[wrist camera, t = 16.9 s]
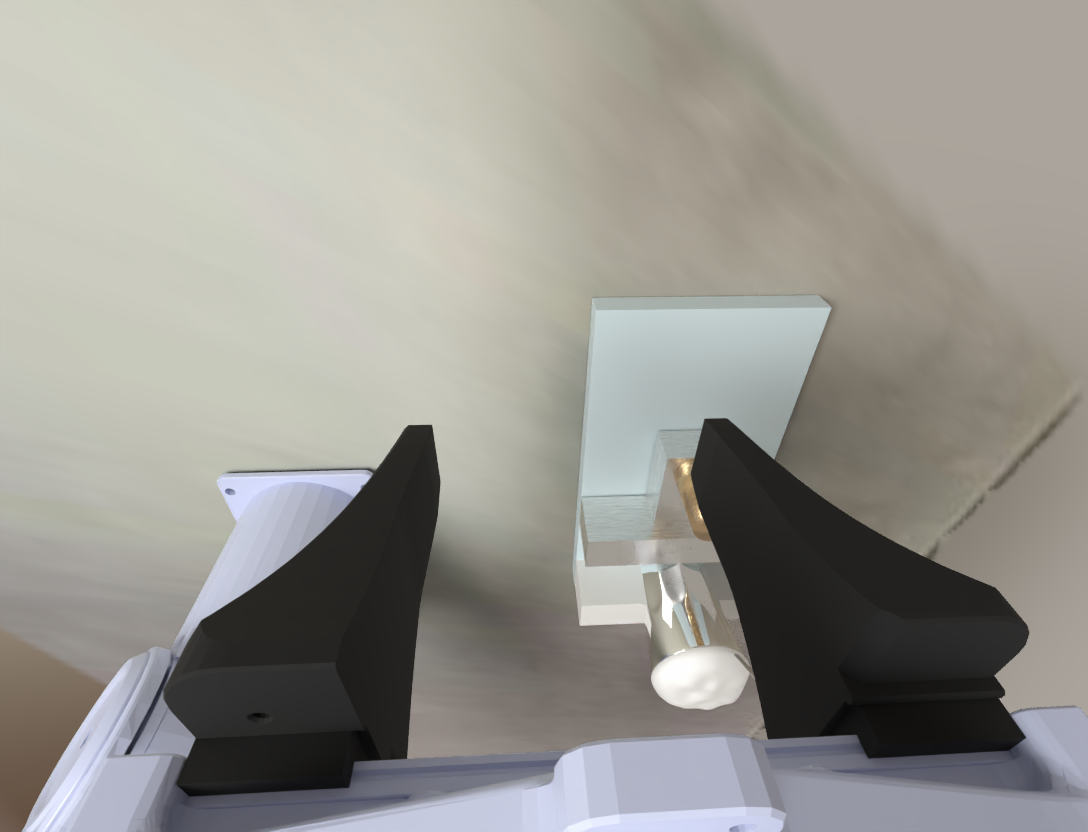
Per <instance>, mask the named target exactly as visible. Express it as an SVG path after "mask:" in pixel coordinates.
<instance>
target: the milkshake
mask: <svg viewBox="0 0 1088 832" xmlns="http://www.w3.org/2000/svg"><path fill="white" fill-rule="evenodd" d="M637 571H638V578H639V585H640V592H641V599H642V606H643V613H644V620H645V628H646V637H647V645H648V654H649V663H650V672H651V681H652V684H653V687H654V689H655V690H656V692H657V693H658V694H659V696H660V697H661V698H663V699H664V700H665V701H666V702H668V703H669V704H672V705H674V706H678V707H681V708H685V709H690V708H698V709H704V710H711V709H714V708H716V707H718V706H721V705H726V704H731V703H733V702H734V701H736V700H737V699H738V697H739V696H740V695H741V693H742V691H743V689H744V686H745V684H746V681H747V679H748V677H749V674H751V676H752V677H753V678H754V679H755V677H754V672H753V670H752V669H751V668H750V666H749V663H748V661H747V659H746V657H745V655H744V653H743V651H742V649H741V646H740V644H739V642H738V640H737V638H736V636H735V634H734V632H733V630H732V628H731V626H730V623H729V621H728V619H727V617H726V615H725V613H724V611H723V609H722V607H721V604H720V602H719V600H718V598H717V595H716V593H715V591H714V588H713V586H712V584H711V582H710V579H709V577H708V575H707V573H706V570H705V568H704V566H703V563H679V564H653V565H637Z"/></svg>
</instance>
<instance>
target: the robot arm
mask: <svg viewBox="0 0 1088 832" xmlns="http://www.w3.org/2000/svg"><path fill="white" fill-rule="evenodd" d="M690 475H691V479H692V483H693V488H694V492H695V496H696V500H697V503H698V507H699V510H700V513H701V515H702V518H703V520H704V523H705V525H706V528H707V530H708V533H709V535H710V538H711V540H712V543H713V545H714V548H715V550H716V552H717V555H718V557H719V560H720V562H721V565H722V567H723V570H724V572H725V575H726V577H727V580H728V583H729V585H730V588H731V591H732V594H733V597H734V601H735V604H736V608H737V611H738V615H739V618H740V622H741V625H742V629H743V633H744V637H745V641H746V644H747V648H748V652H749V656H750V660H751V664H752V668H753V672H754V677H755V681H756V685H757V690H758V694H759V699H760V703H761V708H762V713H763V718H764V723H765V728H766V733H767V737H768V740H754V739H752V738H750V737H748V736H746V735H742V734H727V733H717V734H698V735H679V736H660V737H641V738H622V739H607V740H600V741H594V742H588V743H583V744H581V745H579V746H577V747H574V748H572V749H570V750H564V751H546V752H527V753H508V754H490V755H471V756H452V757H434V758H415V759H407V751H408V735H409V720H410V707H411V694H412V681H413V670H414V659H415V648H416V637H417V628H418V618H419V608H420V602H421V595H422V589H423V585H424V580H425V575H426V570H427V565H428V561H429V556H430V551H431V546H432V541H433V537H434V532H435V527H436V522H437V517H438V506H439V494H440V475H439V469H438V462H437V455H436V449H435V442H434V435H433V428H432V425H408V426H407V427H406V428H405V429H404V431H403V432H402V434H401V435H400V437H399V438H398V440H397V442H396V443H395V445H394V446H393V447H392V449H391V450H390V452H389V453H388V455H387V456H386V458H385V459H384V460H383V462H382V463H381V464H380V466H379V467H378V468H377V470H376V471H375V472H374V474H373V473H372V472H370V471H368V470H337V471H299V472H262V473H226V474H222V475H221V476H220V477H219V479H218V481H217V485H218V487H219V489H220V491H221V493H222V494H223V496H224V498H225V500H226V502H227V504H228V506H229V508H230V510H231V512H232V514H233V516H234V518H235V520H236V522H237V524H236V526H235V528H234V529H233V531H232V533H231V535H230V537H229V539H228V541H227V543H226V545H225V547H224V549H223V550H222V552H221V554H220V556H219V558H218V560H217V562H216V564H215V566H214V568H213V569H212V571H211V573H210V575H209V577H208V579H207V581H206V583H205V585H204V587H203V588H202V590H201V592H200V594H199V596H198V598H197V600H196V602H195V604H194V606H193V608H192V609H191V611H190V613H189V615H188V617H187V619H186V621H185V623H184V625H183V627H182V628H181V630H180V632H179V634H178V636H177V638H176V640H175V642H174V644H173V646H172V647H171V648H170V649H169V650H167V649H164V648H161V647H153V648H151V649H149V650H148V651H147V652H146V653H142V654H140V655H137V656H135V657H133V658H131V659H129V660H128V661H127V662H126V663H125V664H124V665H123V667H122V668H121V669H120V670H119V671H118V673H117V674H116V675H115V677H114V678H113V679H112V681H111V682H110V683H109V685H108V686H107V688H106V689H105V690H104V692H103V693H102V695H101V696H100V698H99V699H98V701H97V702H96V703H95V705H94V706H93V708H92V710H91V711H90V713H89V714H88V716H87V717H86V719H85V720H84V722H83V723H82V725H81V726H80V728H79V730H78V731H77V733H76V734H75V736H74V737H73V739H72V741H71V742H70V744H69V746H68V747H67V749H66V750H65V752H64V754H63V755H62V757H61V759H60V761H59V762H58V764H57V766H56V767H55V769H54V771H53V772H52V774H51V776H50V778H49V780H48V781H47V783H46V785H45V787H44V788H43V790H42V792H41V794H40V796H39V798H38V800H37V802H36V804H35V805H34V807H33V810H32V812H31V814H30V816H29V818H28V821H27V824H26V826H25V827H24V829H23V831H22V832H1088V716H1087V715H1086V714H1085V713H1084V711H1083V710H1082V709H1081V708H1080V707H1077V706H1057V707H1037V708H1026V709H1020V710H1017V711H1014V712H1012V713H1010V714H1009V712H1008V711H1007V710H1006V708H1005V707H1004V705H1003V704H1002V703H1001V701H1000V700H999V698H1002V697H1003V696H1004V695H1005V690H1004V689H1003V687H1002V686H1001V684H1000V683H999V682H998V680H997V679H996V678H995V676H994V675H995V674H996V673H997V672H999V671H1000V670H1001V669H1002V668H1003V667H1004V666H1005V665H1006V664H1007V663H1008V662H1009V661H1010V660H1012V659H1013V658H1014V657H1015V656H1016V655H1017V654H1018V653H1019V652H1020V651H1021V649H1022V648H1023V647H1024V646H1025V645H1026V642H1027V639H1028V635H1029V630H1028V626H1027V625H1026V623H1025V622H1024V621H1023V620H1022V618H1021V617H1020V616H1019V615H1018V614H1017V613H1016V611H1015V610H1014V609H1013V608H1012V607H1011V605H1010V604H1009V603H1008V602H1007V601H1006V599H1005V598H1004V597H1003V596H1002V595H1001V593H1000V592H999V591H998V590H997V589H996V588H994V587H992V586H990V585H987V584H985V583H983V582H980V581H978V580H975V579H973V578H970V577H968V576H966V575H963V574H961V573H959V572H956V571H954V570H951V569H949V568H947V567H944V566H942V565H940V564H938V563H936V562H934V561H932V560H930V559H928V558H925V557H923V556H921V555H919V554H917V553H915V552H913V551H911V550H909V549H907V548H905V547H903V546H901V545H899V544H897V543H895V542H894V541H892V540H890V539H888V538H886V537H885V536H883V535H881V534H879V533H878V532H876V531H874V530H872V529H870V528H869V527H867V526H865V525H864V524H862V523H860V522H859V521H857V520H855V519H854V518H852V517H851V516H849V515H848V514H846V513H845V512H843V511H842V510H840V509H838V508H837V507H835V506H834V505H832V504H831V503H829V502H828V501H827V500H825V499H824V498H822V497H821V496H819V495H818V494H817V493H815V492H814V491H813V490H811V489H810V488H809V487H808V486H806V485H805V484H804V483H802V482H801V481H800V480H798V479H797V478H796V477H795V476H793V475H792V474H791V473H790V472H788V471H787V470H786V469H785V468H784V467H782V466H781V465H780V464H779V463H778V462H776V461H775V460H774V459H773V458H772V457H771V456H769V455H768V454H767V453H766V452H765V451H764V450H763V449H761V448H760V447H759V446H758V445H757V444H756V443H755V442H754V441H753V440H751V439H750V438H749V437H748V436H747V435H746V434H745V433H744V432H742V431H741V430H740V429H739V428H738V427H737V426H736V425H735V424H733V423H732V422H731V421H730V420H729V419H727V418H708V419H704V422H703V426H702V430H701V434H700V438H699V442H698V446H697V450H696V454H695V458H694V462H693V466H692V470H691V474H690ZM364 484H365V485H364ZM232 489H233V490H232Z"/></svg>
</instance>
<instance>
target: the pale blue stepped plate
mask: <svg viewBox="0 0 1088 832" xmlns="http://www.w3.org/2000/svg"><path fill="white" fill-rule="evenodd" d="M831 308H832V307H831V306H830V305H828V304H827V303H826V302H825V301H824V300H823V299H822V298H821V297H820V296H819V295H789V296H700V297H611V298H592V311H591V325H590V338H589V352H588V365H587V379H586V392H585V405H584V419H583V432H582V446H581V459H580V473H579V486H578V500H577V513H576V527H575V540H574V554H573V567H572V570H573V579H574V585H575V588H576V597H577V605H578V614H579V623H580V626H584V625H608V624H632V623H645V620H644V613H643V606H642V599H641V592H640V585H639V578H638V571H637V565H626V566H598V567H586V566H585V559H584V551H583V544H582V537H581V530H580V510H581V497H611V496H644V495H646V492H647V487H648V481H649V476H650V470H651V465H652V460H653V454H654V449H655V444H656V438H657V433H658V431H686V430H702V426H703V422H704V419H708V418H727V419H729V420H730V421H731V422H732V423H733V424H735V425H736V426H737V427H738V428H739V429H740V430H741V431H742V432H744V433H745V434H746V435H747V436H748V437H749V438H750V439H751V440H753V441H754V442H755V443H756V444H757V445H758V446H759V447H760V448H761V449H763V450H764V451H765V452H766V453H767V454H768V455H769V456H771V457H772V458H773V459H775V456H776V454H777V451H778V448H779V446H780V443H781V440H782V438H783V435H784V433H785V430H786V427H787V425H788V422H789V419H790V417H791V414H792V411H793V409H794V406H795V403H796V401H797V398H798V395H799V393H800V390H801V387H802V385H803V382H804V379H805V377H806V374H807V372H808V369H809V366H810V364H811V361H812V358H813V356H814V353H815V350H816V348H817V345H818V342H819V340H820V337H821V334H822V332H823V329H824V326H825V324H826V321H827V318H828V316H829V313H830V310H831ZM703 566H704V568H705V570H706V573H707V575H708V577H709V579H710V582H711V584H712V586H713V588H714V591H715V593H716V595H717V598H718V600H719V602H720V604H721V607H722V609H723V611H724V613H725V615H726V617H727V619H740V618H739V615H738V611H737V608H736V604H735V601H734V597H733V594H732V591H731V588H730V585H729V583H728V580H727V577H726V575H725V572H724V570H723V567H722V565H721V562H708V563H703Z"/></svg>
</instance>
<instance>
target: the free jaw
mask: <svg viewBox="0 0 1088 832" xmlns="http://www.w3.org/2000/svg"><path fill="white" fill-rule="evenodd" d="M700 434H701V430H686V431H658V433H657V438H656V444H655V449H654V454H653V460H652V465H651V470H650V476H649V481H648V487H647V492H646V495H644V496H611V497H581V510H580V530H581V537H582V544H583V551H584V559H585V566H586V567H598V566H626V565H653V564H679V563H708V562H720V560H719V557H718V555H717V552H716V550H715V548H714V545H713V543H712V540H711V538H710V535H709V533H708V530H707V528H706V525H705V523H704V520H703V518H702V515H701V513H700V510H699V507H698V503H697V500H696V496H695V492H694V488H693V483H692V479H691V475H690V474H691V470H692V466H693V462H694V458H695V454H696V450H697V446H698V442H699V438H700Z"/></svg>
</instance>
